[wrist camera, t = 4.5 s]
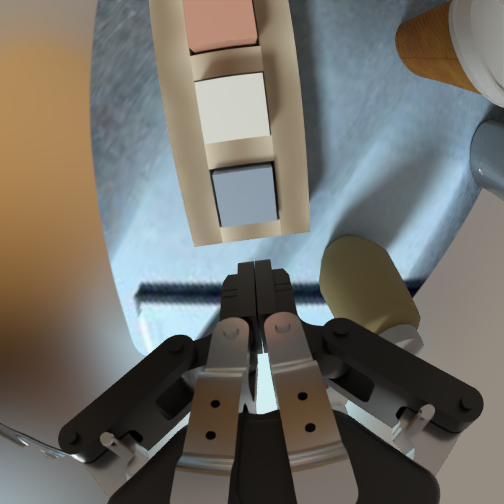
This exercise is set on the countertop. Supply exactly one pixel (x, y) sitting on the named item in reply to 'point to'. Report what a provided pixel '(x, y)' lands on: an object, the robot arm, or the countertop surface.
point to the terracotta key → (219, 24)
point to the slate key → (245, 194)
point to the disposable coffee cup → (458, 46)
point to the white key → (232, 108)
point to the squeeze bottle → (369, 291)
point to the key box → (241, 150)
